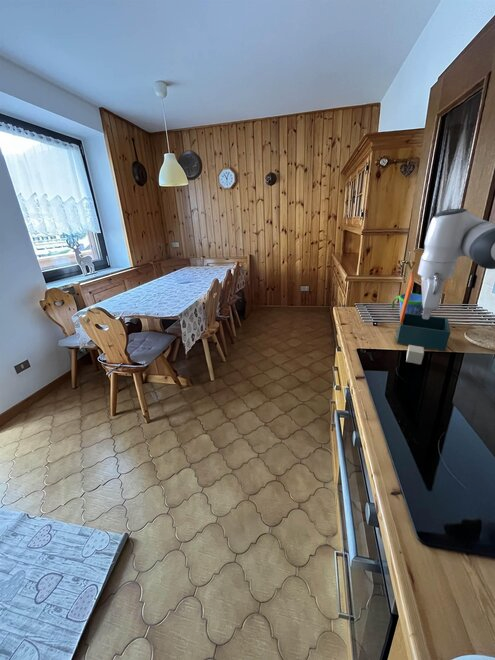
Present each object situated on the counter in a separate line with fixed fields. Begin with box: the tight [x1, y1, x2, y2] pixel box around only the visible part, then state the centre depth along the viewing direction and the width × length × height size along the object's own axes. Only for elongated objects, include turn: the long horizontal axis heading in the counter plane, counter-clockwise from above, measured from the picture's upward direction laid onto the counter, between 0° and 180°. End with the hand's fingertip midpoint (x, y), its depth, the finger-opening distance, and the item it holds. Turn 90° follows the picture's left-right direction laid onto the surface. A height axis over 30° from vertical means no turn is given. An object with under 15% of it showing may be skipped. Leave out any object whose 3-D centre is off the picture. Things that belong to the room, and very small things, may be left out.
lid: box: [399, 271, 415, 324], centre depth 104 cm, size 16×12×1 cm
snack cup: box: [391, 292, 424, 317], centre depth 123 cm, size 16×10×10 cm
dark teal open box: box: [396, 313, 452, 352], centre depth 107 cm, size 15×12×8 cm
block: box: [405, 345, 425, 365], centre depth 96 cm, size 4×4×4 cm
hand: (424, 312), depth 89 cm, fingers open, 8 cm apart
